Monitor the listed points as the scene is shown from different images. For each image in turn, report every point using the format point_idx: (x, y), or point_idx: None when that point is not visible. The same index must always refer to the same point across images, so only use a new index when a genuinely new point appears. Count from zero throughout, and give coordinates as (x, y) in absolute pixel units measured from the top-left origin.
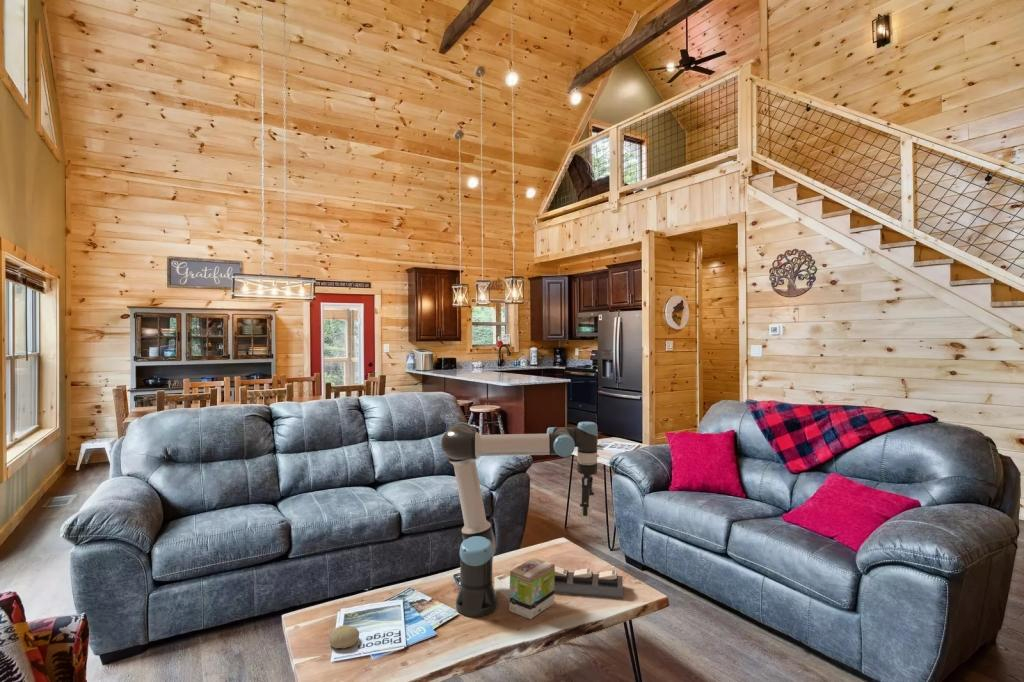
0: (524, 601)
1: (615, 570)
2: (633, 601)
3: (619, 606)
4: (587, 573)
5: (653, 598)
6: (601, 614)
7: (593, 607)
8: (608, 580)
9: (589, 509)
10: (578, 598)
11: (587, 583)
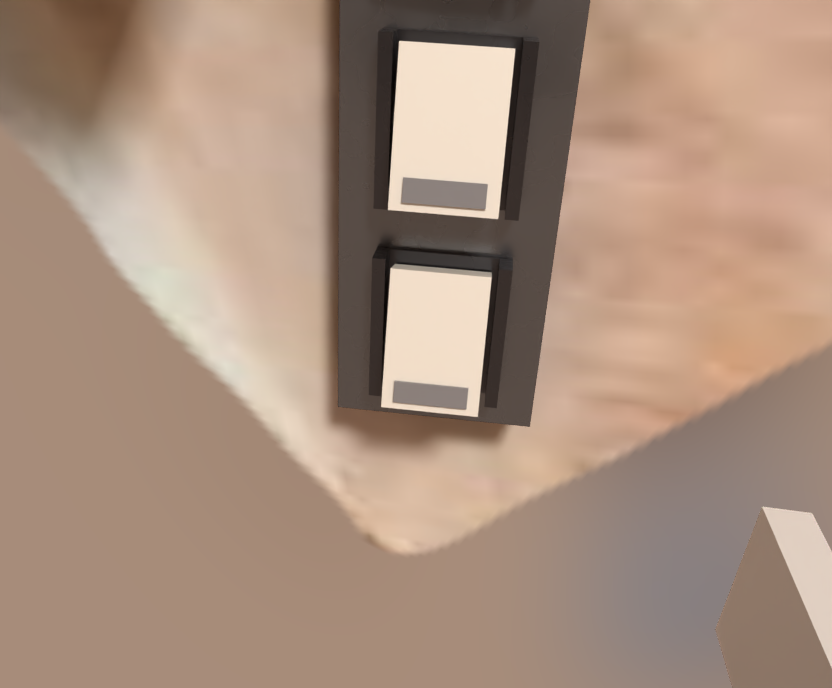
0: None
1: (463, 412)
2: (330, 423)
3: (250, 340)
4: (390, 181)
5: (386, 526)
6: (121, 226)
7: (196, 178)
8: (370, 334)
9: (748, 647)
10: (303, 67)
11: (370, 161)
